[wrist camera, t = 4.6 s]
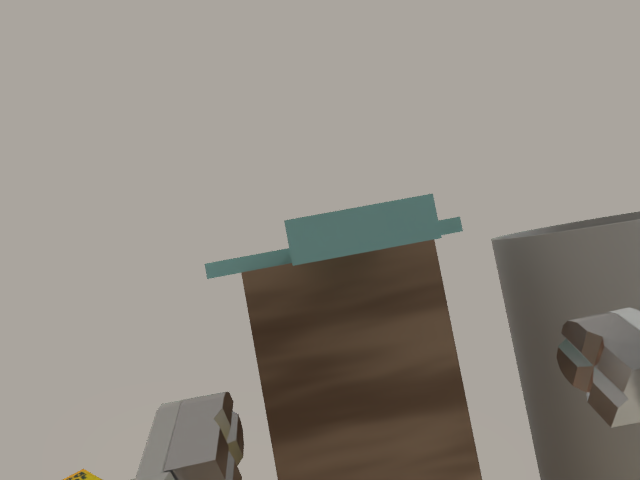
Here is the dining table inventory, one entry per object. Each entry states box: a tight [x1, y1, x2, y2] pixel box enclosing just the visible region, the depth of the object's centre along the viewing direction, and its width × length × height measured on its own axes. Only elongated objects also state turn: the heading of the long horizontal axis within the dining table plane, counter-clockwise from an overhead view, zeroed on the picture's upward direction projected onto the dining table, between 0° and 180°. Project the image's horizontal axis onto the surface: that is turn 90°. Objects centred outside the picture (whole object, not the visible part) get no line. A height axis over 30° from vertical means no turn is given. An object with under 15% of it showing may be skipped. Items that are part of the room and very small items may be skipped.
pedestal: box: [242, 239, 482, 480], centre depth 23 cm, size 10×10×26 cm
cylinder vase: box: [491, 212, 640, 480], centre depth 23 cm, size 12×12×25 cm
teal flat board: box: [205, 194, 463, 279], centre depth 22 cm, size 24×14×1 cm, turn 2°
